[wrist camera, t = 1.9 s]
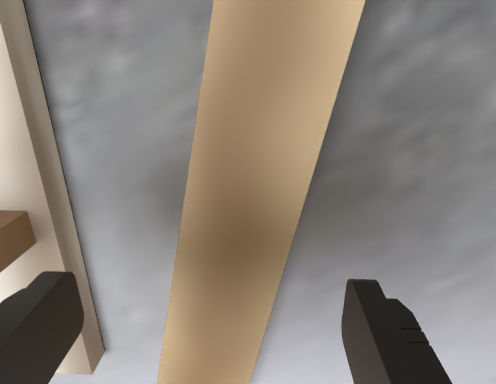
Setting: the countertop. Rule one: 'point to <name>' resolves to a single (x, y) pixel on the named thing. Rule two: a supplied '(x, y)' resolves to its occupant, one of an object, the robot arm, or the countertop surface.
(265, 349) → the countertop surface
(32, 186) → the stand
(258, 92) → the oak batten
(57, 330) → the robot arm
